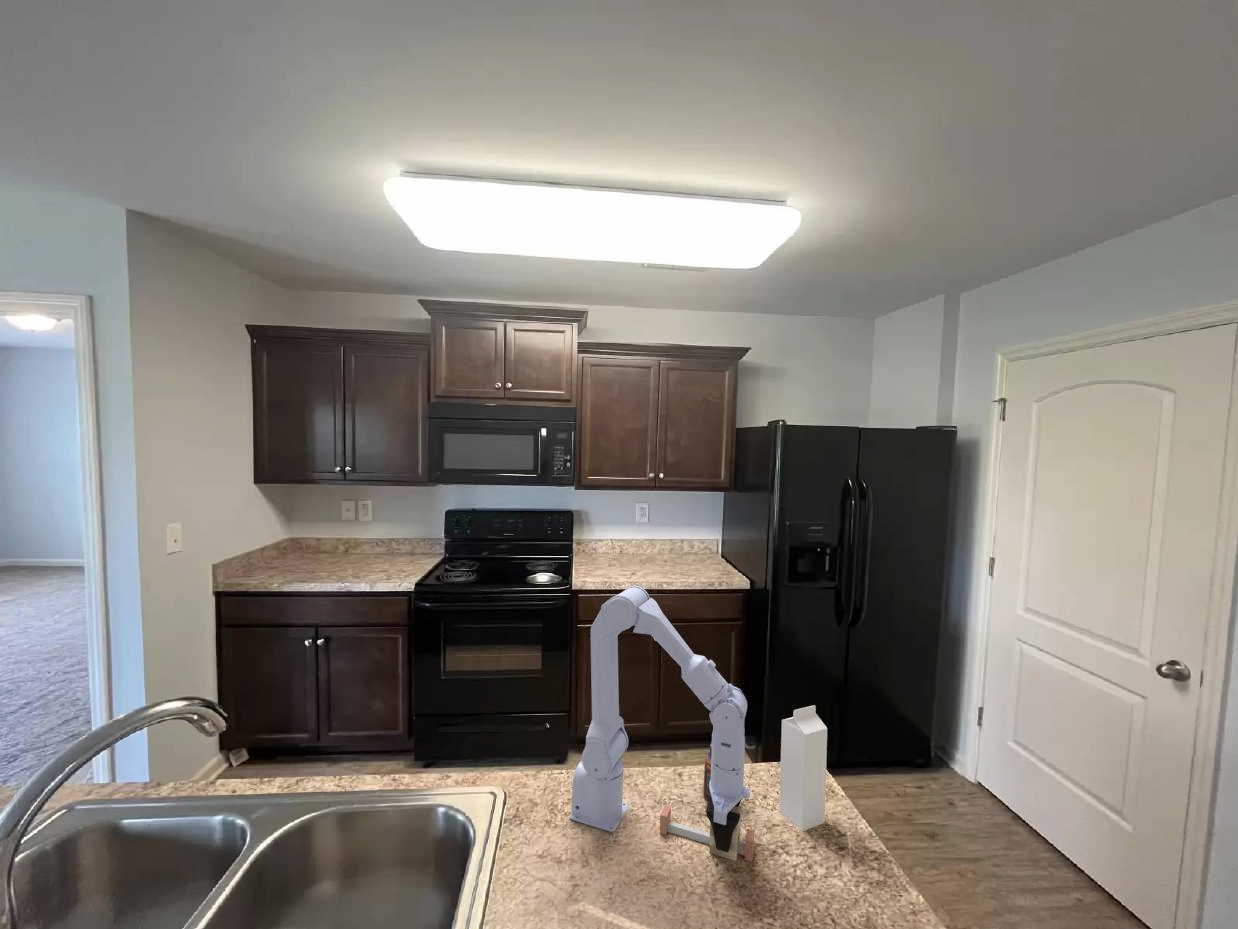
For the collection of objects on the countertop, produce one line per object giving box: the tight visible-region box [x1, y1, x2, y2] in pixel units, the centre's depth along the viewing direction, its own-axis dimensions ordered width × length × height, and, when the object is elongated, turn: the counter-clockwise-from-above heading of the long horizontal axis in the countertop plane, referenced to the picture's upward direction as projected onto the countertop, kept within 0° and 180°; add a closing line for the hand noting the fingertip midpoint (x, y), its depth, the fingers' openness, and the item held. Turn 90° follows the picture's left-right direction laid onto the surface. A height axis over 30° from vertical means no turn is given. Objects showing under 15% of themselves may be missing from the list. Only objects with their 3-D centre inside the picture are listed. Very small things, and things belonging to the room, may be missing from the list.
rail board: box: [659, 804, 755, 863], centre depth 88 cm, size 17×9×4 cm, turn 69°
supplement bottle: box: [703, 742, 713, 804], centre depth 101 cm, size 6×6×11 cm
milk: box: [778, 704, 828, 832], centre depth 96 cm, size 6×6×22 cm
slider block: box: [708, 806, 742, 862], centre depth 87 cm, size 5×5×6 cm
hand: (725, 838), depth 87 cm, fingers closed on slider block, 5 cm apart
